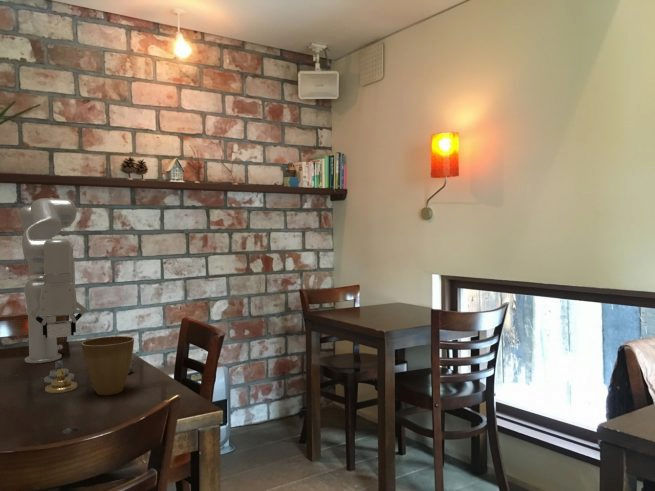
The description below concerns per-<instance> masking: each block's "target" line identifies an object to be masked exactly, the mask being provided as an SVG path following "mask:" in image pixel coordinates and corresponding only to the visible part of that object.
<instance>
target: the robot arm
mask: <svg viewBox="0 0 655 491" xmlns="http://www.w3.org/2000/svg"><path fill="white" fill-rule="evenodd" d="M18 216H19V222H20V225H21V227H22V229H23V230H22V231H23V234H22V237H21V247H22V252H23V254H22V255H23V257H24V259H25V260H26V261H27V267H28V271H29V272H30V274H32V275H37V276H38V275H39V276H38V278H33V279H30V280H28V281H26V282H25V284H24V296H25V300H26V306H27V307H26V309H27V322H28V324H27V325H28V331H27V332H28V354H29V355H28V356H26V357H25V358H24V362H25V363H26V364H43V363H50V362H55V361H59V360H60V359H62V357H63V356H62V354H61V353H59V351H61V350H62V349H63V348H64V347H63V344H58V337H57V338H47V324H48V322H57V317H62V316H63V317H65V316H69V318H70V321H71V337H72V336H73V337H74V335H75V333H77V322H78V321H79V319H81V318H82V316H84V314H85V313H86V312H87V308H86V307H85V306H83V305H82V304H81V303H80V302H78V301H77V300H78V299H77V290H76V271H75V270H76V269H75V268H76V267H75V258H74V245H73V244H72V243H71V242H70V240H68V239H66V238H55V237H57V235H59V234H60V233H61V232H62V229H65V228H69V227H71V226H72V224H73V223H74V222H75V221H76V218H77V207H76V204H75V202H74V201H73V200H71V199H69V198H46V197H45V198H43V197H42V198H38V199H36V200H35V201H33V202H32V203H31V204H30V205H25V206H23V207H22V208H20V209H19V212H18ZM78 309H79V310H80V311H79V313H77V311H78ZM76 313H77V315H75V314H76Z"/></svg>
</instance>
